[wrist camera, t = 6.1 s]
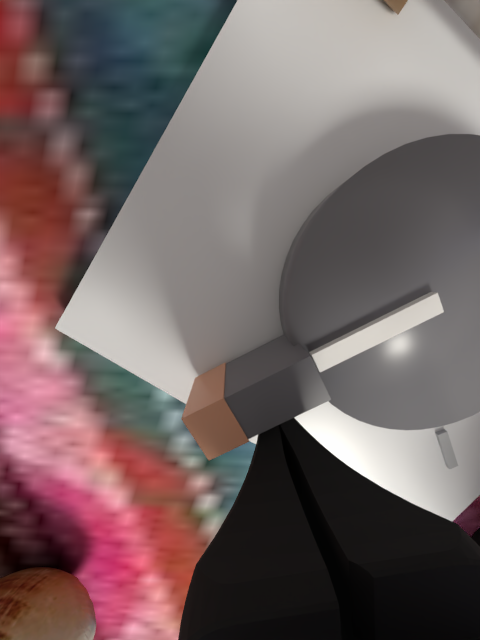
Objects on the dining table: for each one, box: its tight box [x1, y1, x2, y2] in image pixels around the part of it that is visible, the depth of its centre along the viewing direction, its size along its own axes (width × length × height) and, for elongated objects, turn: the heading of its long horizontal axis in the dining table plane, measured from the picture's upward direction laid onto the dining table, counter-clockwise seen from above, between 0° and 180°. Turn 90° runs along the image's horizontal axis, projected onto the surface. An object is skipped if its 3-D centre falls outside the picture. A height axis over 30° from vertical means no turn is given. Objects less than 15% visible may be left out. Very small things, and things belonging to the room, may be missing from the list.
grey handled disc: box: [182, 134, 480, 460], centre depth 9 cm, size 16×11×3 cm
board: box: [55, 0, 480, 521], centre depth 11 cm, size 20×24×1 cm
